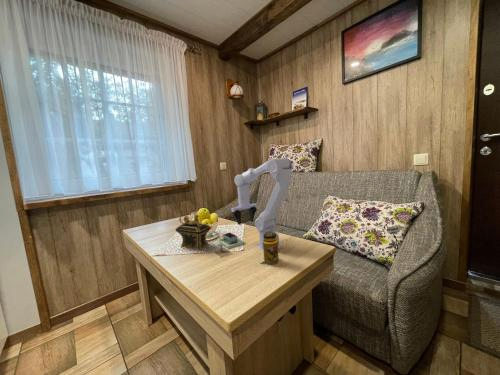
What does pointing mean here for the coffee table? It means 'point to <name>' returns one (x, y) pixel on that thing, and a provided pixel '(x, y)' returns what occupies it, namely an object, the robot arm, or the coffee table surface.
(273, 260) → the condiment
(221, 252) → the tan rectangular block
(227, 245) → the tray
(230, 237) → the grey open box
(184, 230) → the decorative box
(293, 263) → the coffee table surface
